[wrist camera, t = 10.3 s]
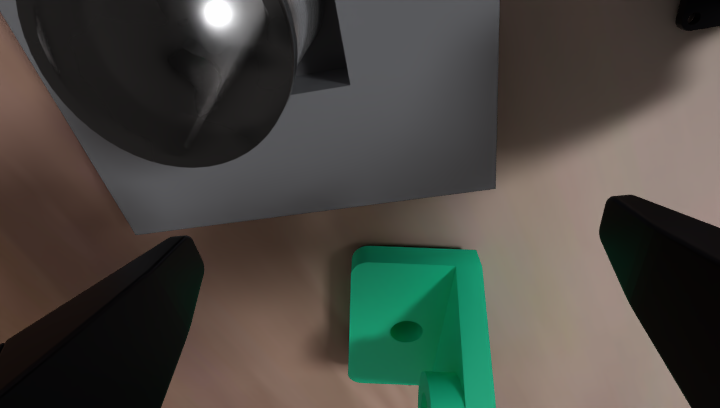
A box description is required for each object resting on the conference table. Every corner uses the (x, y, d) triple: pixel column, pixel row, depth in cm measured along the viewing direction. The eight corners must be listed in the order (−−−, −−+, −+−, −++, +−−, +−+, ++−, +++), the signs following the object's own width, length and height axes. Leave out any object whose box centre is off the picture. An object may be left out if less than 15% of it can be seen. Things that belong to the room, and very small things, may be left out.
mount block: (471, -390, 12) (511, -527, 8) (475, 151, 21) (495, 188, 18) (-51, -238, 14) (-188, -299, 10) (169, 194, 23) (135, 235, 20)
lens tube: (315, -96, 15) (241, -156, 6) (342, 56, 18) (317, 151, 9) (177, -66, 15) (-54, -85, 7) (226, 76, 18) (106, 181, 10)
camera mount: (353, 234, 25) (343, 384, 16) (472, 239, 25) (526, 391, 16) (349, 352, 31) (341, 503, 23) (444, 356, 31) (471, 509, 23)
